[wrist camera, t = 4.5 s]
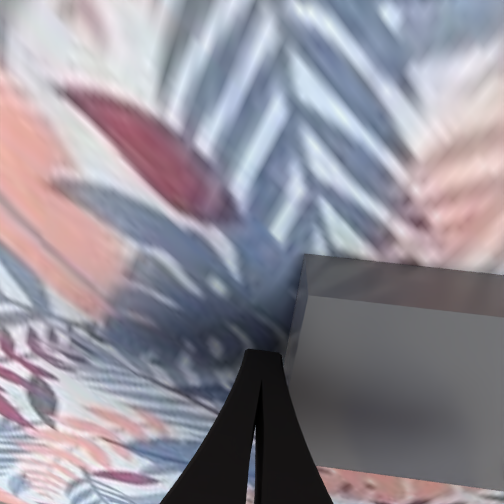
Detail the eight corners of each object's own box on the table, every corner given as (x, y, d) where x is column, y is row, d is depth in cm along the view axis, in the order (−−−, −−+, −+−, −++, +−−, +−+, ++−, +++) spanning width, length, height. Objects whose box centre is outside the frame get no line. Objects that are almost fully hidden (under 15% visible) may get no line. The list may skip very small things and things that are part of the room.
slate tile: (527, 436, 15) (567, 499, 13) (275, 404, 15) (273, 459, 13) (678, 287, 10) (781, 349, 8) (304, 247, 11) (308, 295, 8)
